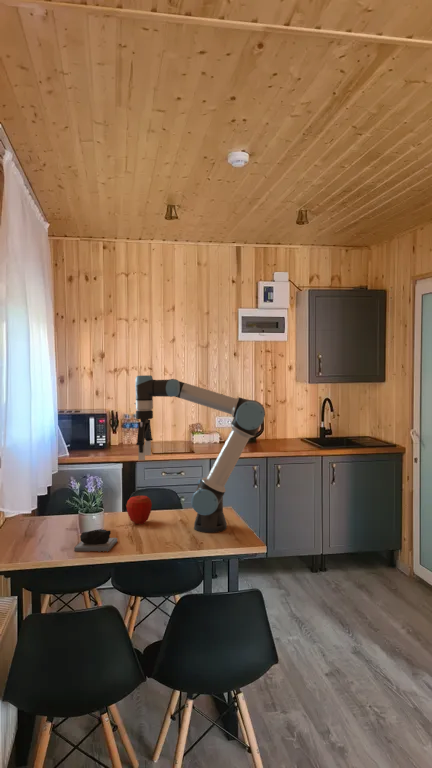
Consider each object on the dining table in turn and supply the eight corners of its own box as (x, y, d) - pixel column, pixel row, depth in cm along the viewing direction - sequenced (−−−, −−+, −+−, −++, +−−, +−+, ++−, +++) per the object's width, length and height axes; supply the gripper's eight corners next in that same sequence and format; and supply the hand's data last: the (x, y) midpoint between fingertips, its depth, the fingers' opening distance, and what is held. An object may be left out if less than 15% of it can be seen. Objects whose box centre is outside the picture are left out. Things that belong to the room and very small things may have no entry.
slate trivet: (117, 541, 240) (117, 537, 240) (108, 551, 226) (108, 547, 226) (85, 540, 241) (85, 536, 241) (74, 551, 227) (74, 547, 227)
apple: (145, 518, 277) (145, 490, 277) (156, 524, 267) (156, 494, 267) (122, 522, 271) (122, 493, 270) (132, 528, 260) (132, 498, 260)
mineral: (92, 548, 226) (92, 533, 226) (78, 544, 232) (78, 530, 232) (111, 542, 234) (111, 528, 234) (97, 538, 239) (97, 524, 239)
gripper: (141, 408, 261) (142, 453, 262) (129, 412, 237) (130, 462, 237) (157, 408, 261) (158, 453, 261) (146, 412, 236) (147, 462, 236)
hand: (144, 457), depth 249 cm, fingers open, 13 cm apart
